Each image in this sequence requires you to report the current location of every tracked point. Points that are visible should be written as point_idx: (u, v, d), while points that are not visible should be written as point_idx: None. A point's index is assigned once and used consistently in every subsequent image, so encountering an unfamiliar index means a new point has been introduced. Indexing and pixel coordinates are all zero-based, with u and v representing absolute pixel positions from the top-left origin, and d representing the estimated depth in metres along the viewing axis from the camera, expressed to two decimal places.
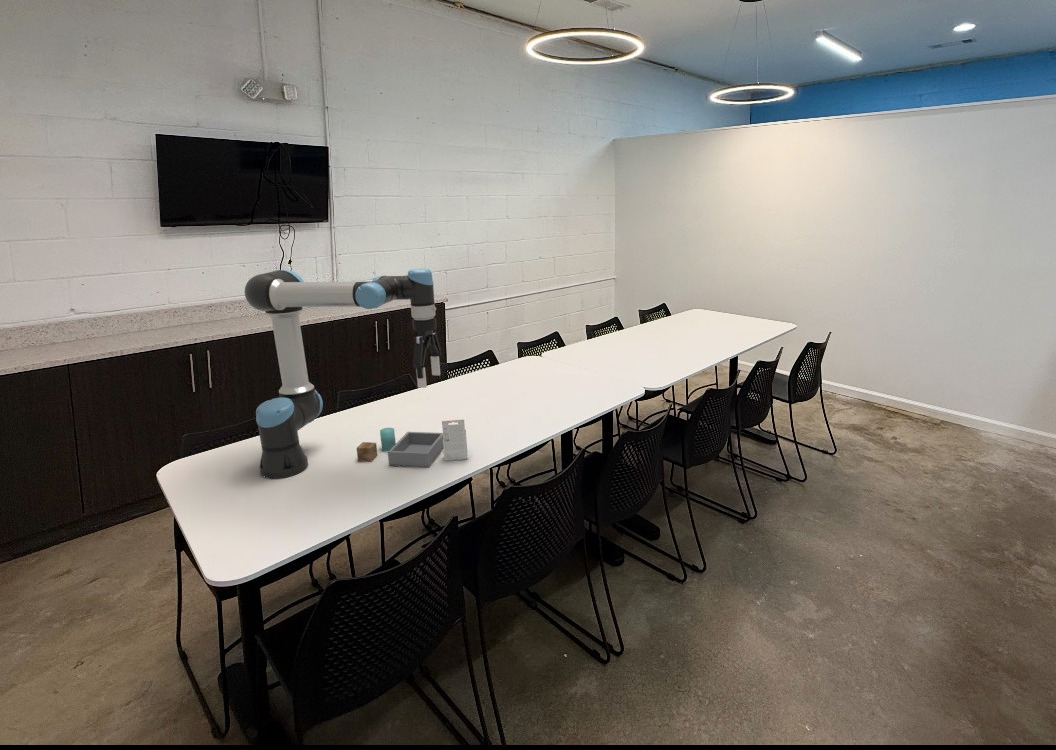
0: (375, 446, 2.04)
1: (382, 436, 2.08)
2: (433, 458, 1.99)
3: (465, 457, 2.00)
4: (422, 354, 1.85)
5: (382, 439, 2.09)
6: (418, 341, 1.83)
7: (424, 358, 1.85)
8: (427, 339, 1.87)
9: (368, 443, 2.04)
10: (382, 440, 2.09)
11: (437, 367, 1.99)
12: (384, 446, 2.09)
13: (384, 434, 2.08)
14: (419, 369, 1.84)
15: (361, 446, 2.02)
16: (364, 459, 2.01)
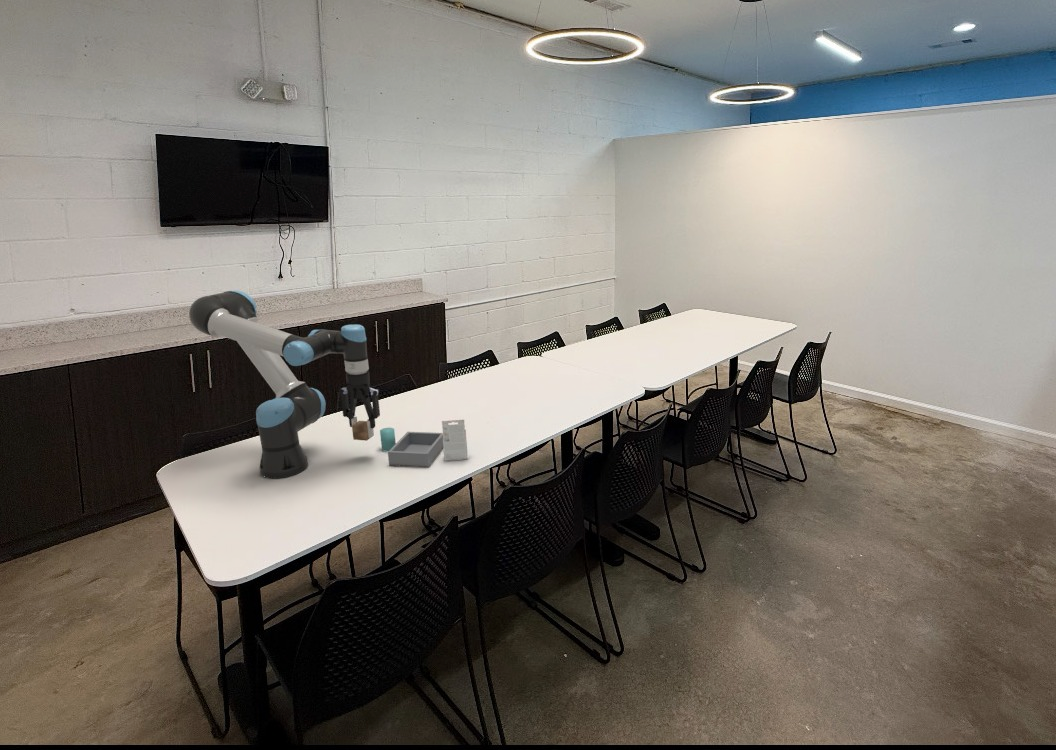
0: None
1: (382, 436, 2.08)
2: (433, 458, 1.99)
3: (465, 457, 2.00)
4: (350, 405, 1.98)
5: (382, 439, 2.09)
6: None
7: (351, 409, 1.98)
8: None
9: (364, 422, 2.01)
10: (382, 440, 2.09)
11: None
12: (384, 446, 2.09)
13: (384, 434, 2.08)
14: None
15: (357, 424, 1.99)
16: (360, 438, 1.99)
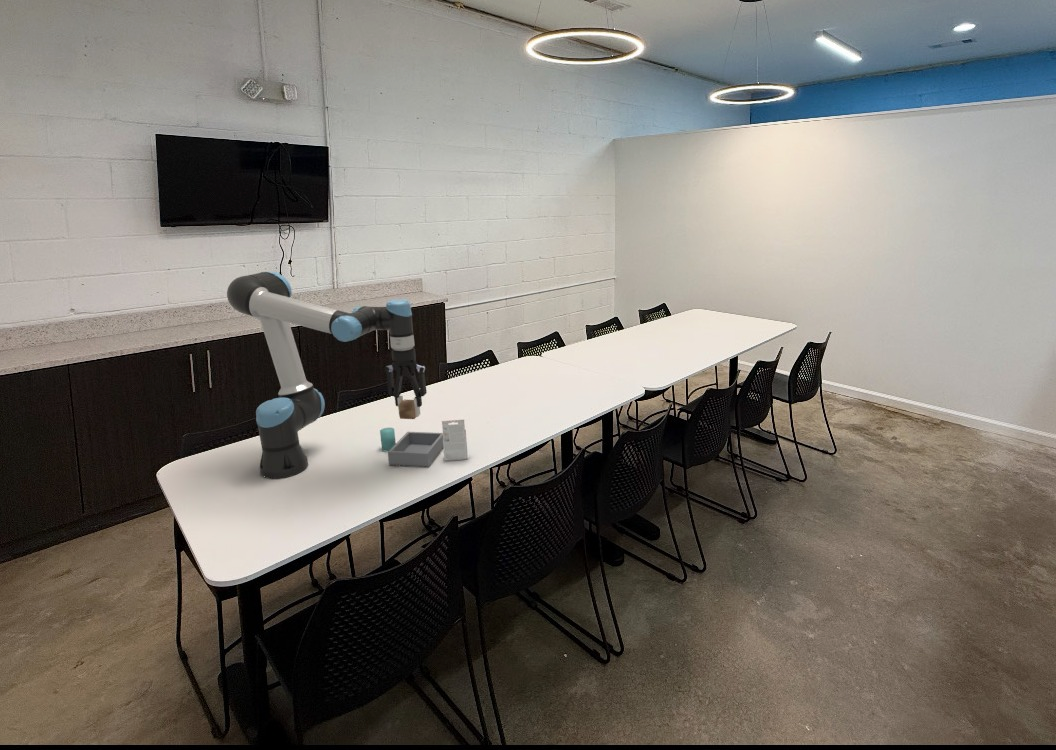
0: None
1: (382, 436, 2.08)
2: (433, 458, 1.99)
3: (465, 457, 2.00)
4: (396, 384, 1.93)
5: (382, 439, 2.09)
6: None
7: (397, 388, 1.93)
8: None
9: (410, 401, 1.96)
10: (382, 440, 2.09)
11: None
12: (384, 446, 2.09)
13: (384, 434, 2.08)
14: None
15: (403, 403, 1.94)
16: (406, 416, 1.94)
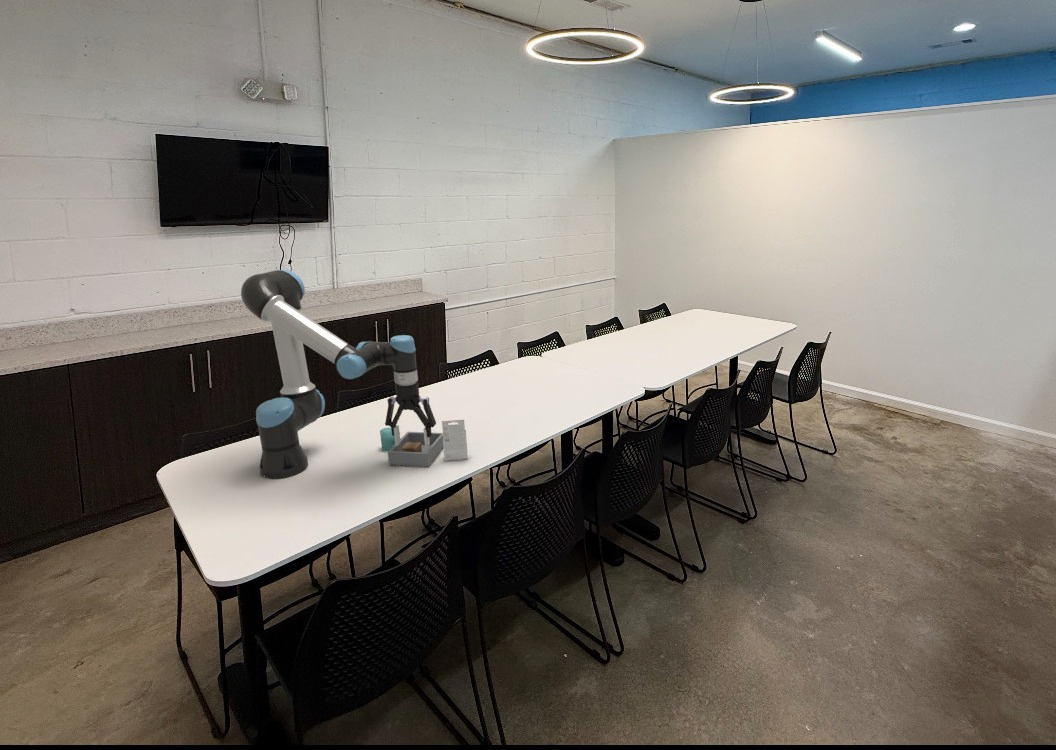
0: (420, 446, 2.01)
1: (382, 436, 2.08)
2: (433, 458, 1.99)
3: (465, 457, 2.00)
4: (395, 415, 1.96)
5: (382, 439, 2.09)
6: None
7: (395, 419, 1.96)
8: (400, 403, 1.94)
9: (413, 444, 2.00)
10: (382, 440, 2.09)
11: None
12: (384, 446, 2.09)
13: (384, 434, 2.08)
14: None
15: (406, 446, 1.98)
16: None
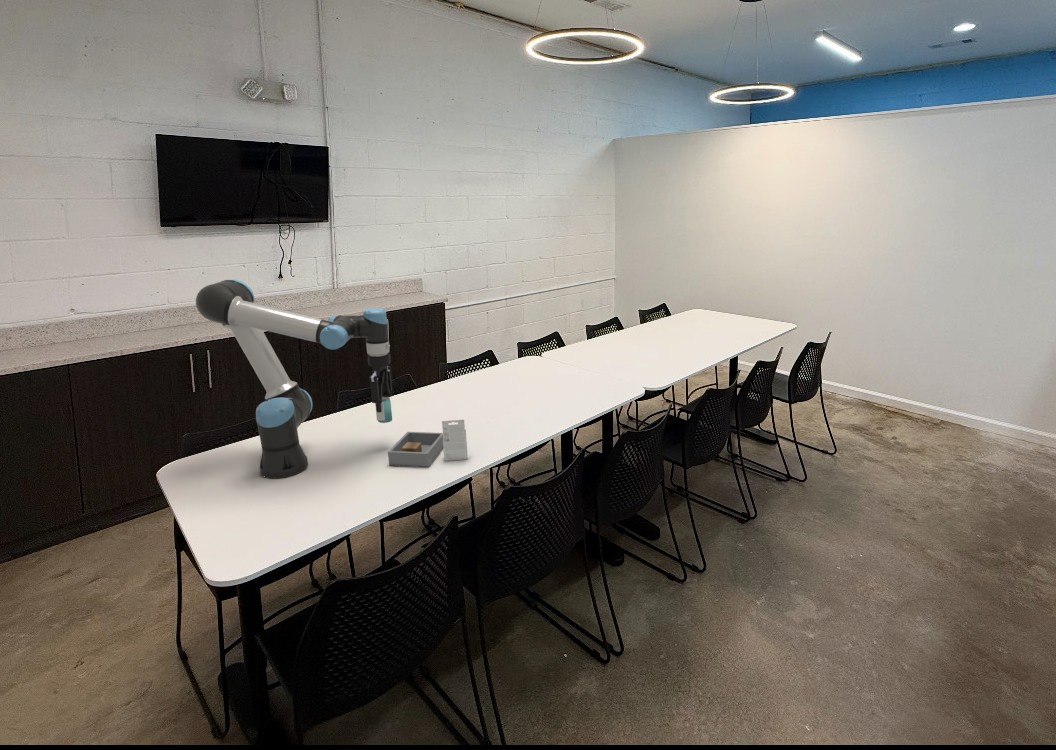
0: (420, 446, 2.01)
1: None
2: (433, 458, 1.99)
3: (465, 457, 2.00)
4: (379, 390, 2.02)
5: None
6: (373, 380, 1.98)
7: (381, 393, 2.02)
8: (381, 375, 2.01)
9: (413, 444, 2.00)
10: None
11: None
12: None
13: None
14: (378, 404, 2.02)
15: (406, 446, 1.98)
16: None
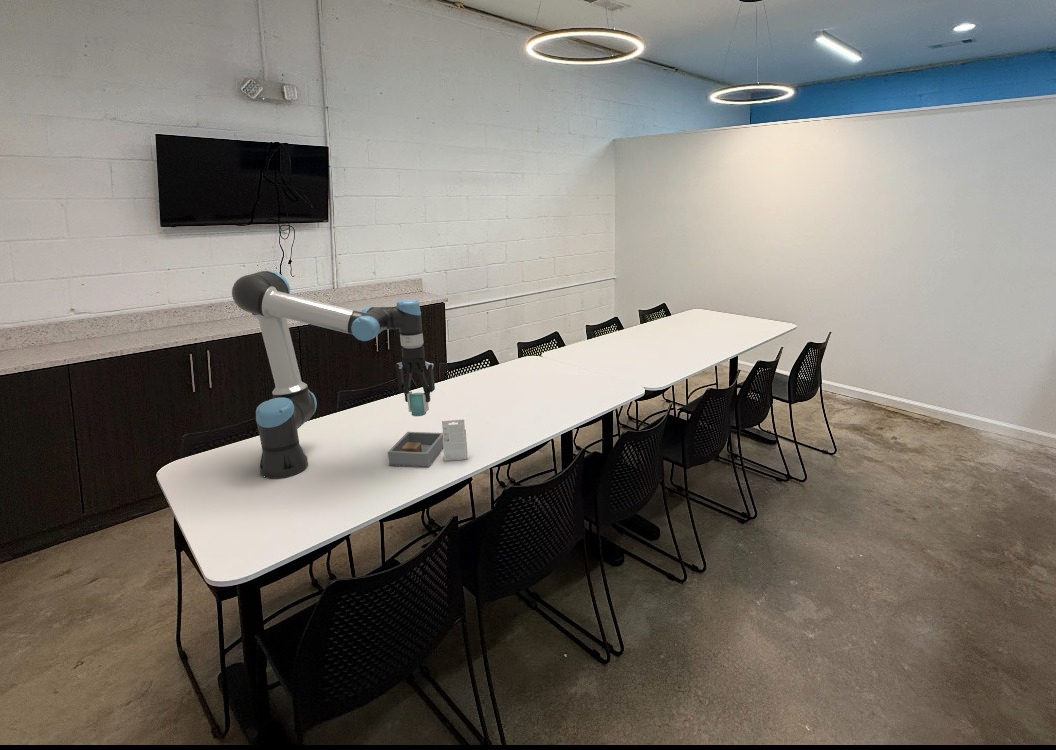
0: (420, 446, 2.01)
1: None
2: (433, 458, 1.99)
3: (465, 457, 2.00)
4: None
5: None
6: None
7: (407, 384, 2.01)
8: None
9: (413, 444, 2.00)
10: None
11: None
12: None
13: None
14: None
15: (406, 446, 1.98)
16: None
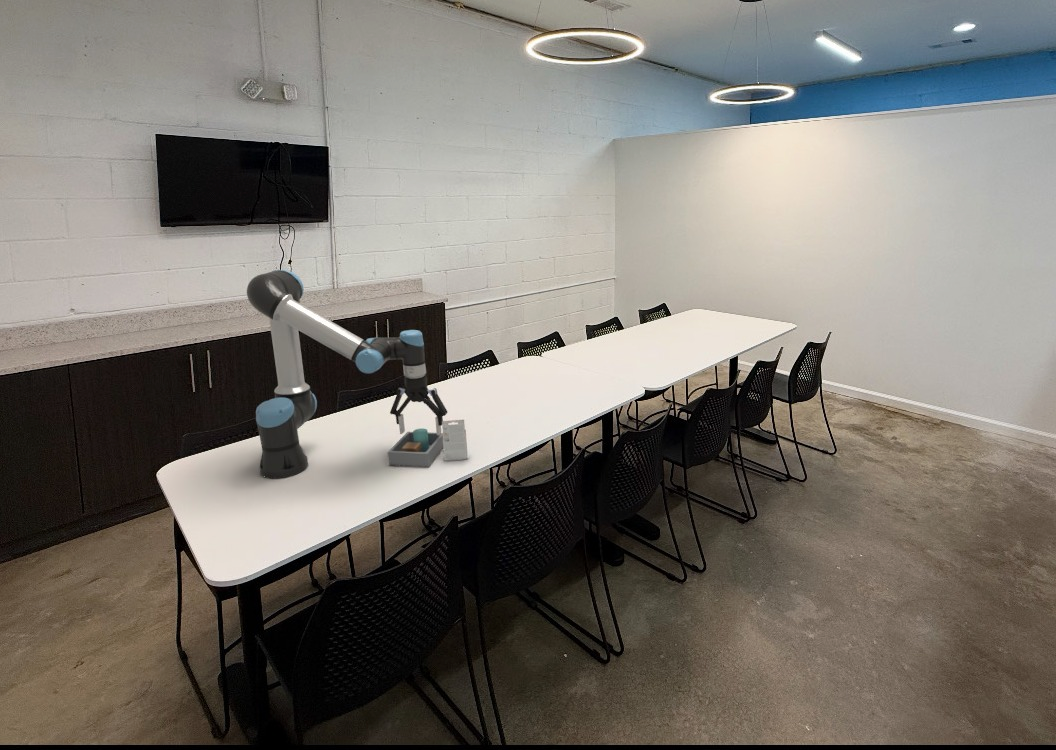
0: (420, 446, 2.01)
1: None
2: (433, 458, 1.99)
3: (465, 457, 2.00)
4: (401, 405, 2.04)
5: None
6: None
7: (401, 409, 2.04)
8: (409, 394, 2.01)
9: (413, 444, 2.00)
10: None
11: None
12: None
13: None
14: None
15: (406, 446, 1.98)
16: None
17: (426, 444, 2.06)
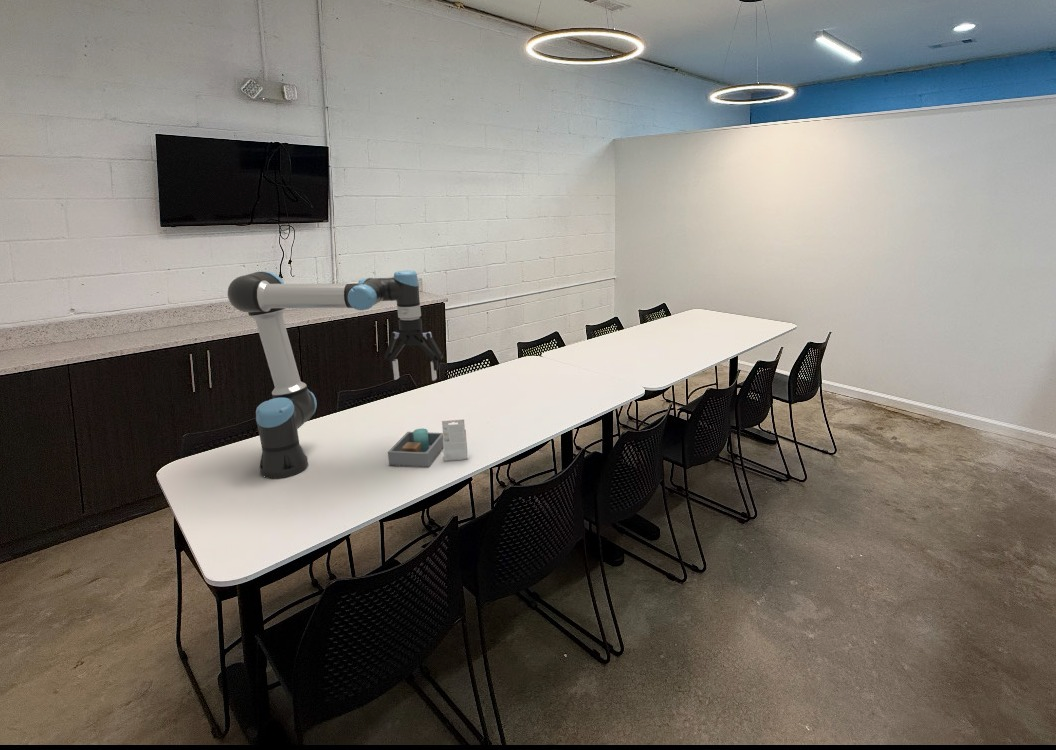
0: (420, 446, 2.01)
1: None
2: (433, 458, 1.99)
3: (465, 457, 2.00)
4: (396, 349, 1.98)
5: None
6: None
7: (395, 353, 1.98)
8: (403, 338, 1.96)
9: (413, 444, 2.00)
10: None
11: None
12: None
13: None
14: None
15: (406, 446, 1.98)
16: None
17: (426, 444, 2.06)
